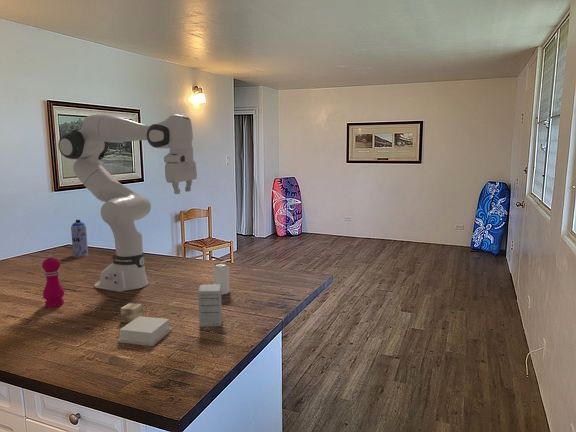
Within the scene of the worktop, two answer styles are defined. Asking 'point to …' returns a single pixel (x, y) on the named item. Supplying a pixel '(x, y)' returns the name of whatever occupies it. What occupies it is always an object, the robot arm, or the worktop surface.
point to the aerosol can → (79, 239)
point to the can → (221, 276)
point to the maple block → (130, 312)
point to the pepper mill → (52, 283)
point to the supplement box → (210, 305)
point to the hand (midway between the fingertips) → (182, 192)
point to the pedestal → (144, 331)
